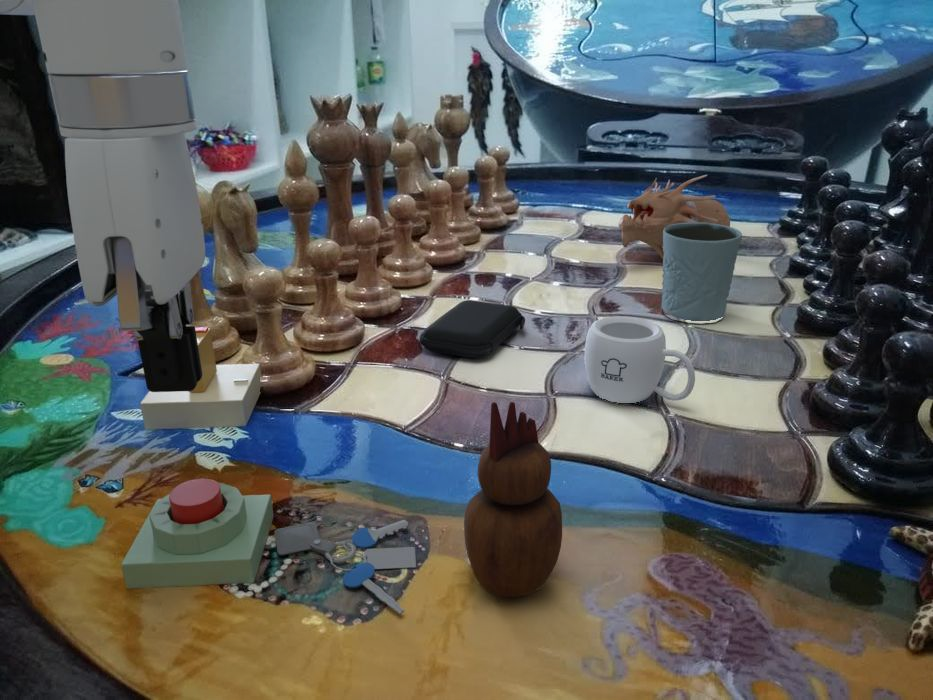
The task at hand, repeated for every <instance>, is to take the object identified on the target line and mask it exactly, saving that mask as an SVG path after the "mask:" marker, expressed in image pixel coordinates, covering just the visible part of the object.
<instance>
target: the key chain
mask: <svg viewBox="0 0 933 700" xmlns="http://www.w3.org/2000/svg"><path fill="white" fill-rule="evenodd" d="M408 527H409V521H407V520H406V519H402V520H399V521H396V522H394V523H391V524H388V525H385V526H383V527H379V528H376V529H373V528H369V526H367V527H361V528H358V530H356V531H354V533H353V534H352V536H351V540H349V539H348V540H343V541H336V542H333V541H328V540H325V539H323V538H321V537H320V533H319V530H318V526H317V522H315V521H310V522H305V523H300V524H294V525H289V526H285V527H281V528H277V529H274V531H273V535H274V539H275V546H276V552H277V555H278V556H286V555H290V554H294V553H299V552H304V551H309V550H310V551H313V552H317V553H320V554H322V555H323V556H325V559H327V560H328V561H330V564H331V565H332V566H333V567H334V568H335V569H338V570H340V571H345V573H344V575H343V578H342V582H343V584H344V586H345V587H347V588H348V589H349V588H350V589H356V588H359V587H361V586H363V587H364V588H366V589H367V590H368V591H369V592H371V593H372V594H374V595H375V597H376V598H377V599H379V600H380V601H381V602H382V603H384V604H386V605H387V606H388V607H389V608H390V609H392V610H393V611H394V612H396V613H398V614H399V615H402V614H403V613H404V612H405V609H404V608H403V607H402V606H401V605H400V604H399V603H398V602H397V601H396V599H394V597H392V595H389V594H388V593H386V592H385V591H384V590H383V588H381V586H379V585H377V584H376V583H374V582H373V581H372V580H371V579H373V577H374V576H375V575H376V570H388V569H391V570H392V569H413V568H414V569H415V568H417V561H416V560H417V559H416V557H417V556H416V547H415V546H405V547H404V546H403V547H402V546H401V547H379V548H372V547H374V546H376V545H377V544H378V540H379V539H380V540H382V539H384V538H385V537H386V536H393V535H395V533H398V532H399V531H400V530H407V528H408ZM394 532H395V533H394ZM338 547H343V548H344V549H345V550H342V551H338V552H336V553H334V554H333V555H332V556H331V554H332V553H333V552H334V551H335V550H336V549H337V548H338ZM357 548H359V549H360V548H361V549H365V550H364V552H363V554H362V552H361V553H360V552H358V551H356V550H357ZM344 553H348V554H347V555H346V556H343V557H336V556H337V555H340V554H344ZM355 554H356V555H358V556H359V555H360V556H361V557H362V558H363V562H360V563H357V564H355V565H353V566H351V567H350V568H342V567H340V566H337V565H336V564H337V563H339V564H340V563H345V562H348V561H349V560H351V559H352V558H353V557H354V556H355ZM334 563H336V564H334Z"/></svg>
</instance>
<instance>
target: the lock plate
mask: <svg viewBox="0 0 933 700" xmlns="http://www.w3.org/2000/svg"><path fill="white" fill-rule="evenodd" d="M216 369H217V372H216V374H215V375H214V377H213V378H212V380H211V382H210V383H209V385H208V386H207V388H206V390H205V391H204V392H189V391H177V392H151V391H149V390H148V392H147V394H145V396H144V398H143V399H142V400H141V401H140V403H139V407H140V411H141V416H142V421H143V426H144V430H145V431H151V430H180V429H182V430H183V429H208V428H209V429H210V428H235V427H236V428H239V427H240V428H241V427H247V425H248V422H249V420H250V418H251V415H252V414H253V412H254V409H255V407H256V405H257V402H258V400H259V397H260V396H261V393H262V391H261V392H260V377H261V376H262V369H261V364H260V363H235V364H234V363H233V364H216Z"/></svg>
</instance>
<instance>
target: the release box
mask: <svg viewBox="0 0 933 700" xmlns="http://www.w3.org/2000/svg"><path fill="white" fill-rule="evenodd" d="M217 483H218V484H219V485H220V488H221V494H222V500H223V511H222V512H221V513H220V514H219V515H217V516H216V517H214V518H213V519H210V520H207V521H204V522H201V523H198V524H179V523H176V522H175V521H174V519H173V516H172V511H171V506H170V501H169V495H170V493H168V494H167V495H166V496H165V495H164V497H162V498H157V499H156V501H155V503H154V505H153V506H152V508H151V510H150V512H149V513H148V515H147V517H146V519H145V521H144V522H143V524H142V526H141V528H140V530H139V531H138V533H137V535H136V537H135V539H134V541H133V542H132V544H131V545H130V548H129V549H128V551H127V553H126V555H125V557H124V558H123V560H122V562H121V564H120V567H121V571H122V574H123V579H124V584H125V588H126V589H130V590H131V589H146V588H147V589H151V588H152V589H153V588H173V587H174V588H175V587H194V586H195V587H196V586H214V585H215V586H216V585H217V586H218V585H236V584H237V585H238V584H239V585H240V584H254V583H255V581H256V577H257V574H258V570H259V568H260V564H261V561H262V558H263V553H264V551H265V547H266V544H267V541H268V537H269V534H270V530H271V527H272V524H273V521H274V517H275V515H274V509H273V500H272V495H271V494H251V495H250V494H249V495H242V493H241V492H240V490H239V489H238V487H235V486H232V485H229V484H226V483H223V482H217Z"/></svg>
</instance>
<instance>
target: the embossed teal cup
mask: <svg viewBox="0 0 933 700" xmlns="http://www.w3.org/2000/svg"><path fill="white" fill-rule="evenodd" d="M742 238H743V233H742V232H741V231H740V230H739V229H737V228H735V227H732V226H730V227H729V226H724V225H719V224H713V223H702V222H688V223H678V224H672V225H669V226H667V227H665V228H664V230H663V246H662V248H663V253H664V256H663V259H662V276H661V277H662V282H661V284H662V285H661V286H662V288H661V310H662V309H663V310H664V311H665V312H666V313H668V314H669V315H672V316H674V317H678V318H681V319H684V320H691V321H710V320H716V319H718V318H721V317H723V316H724V317H725V315H724V314H726V309H727V306H728V302H727V300H728V298H729V296H730V291H731V284H732V282H733V277H734V271H735V269H736V268H735V266H736V262H737V259H738V254H739V250H740V245H741V241H742Z"/></svg>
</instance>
